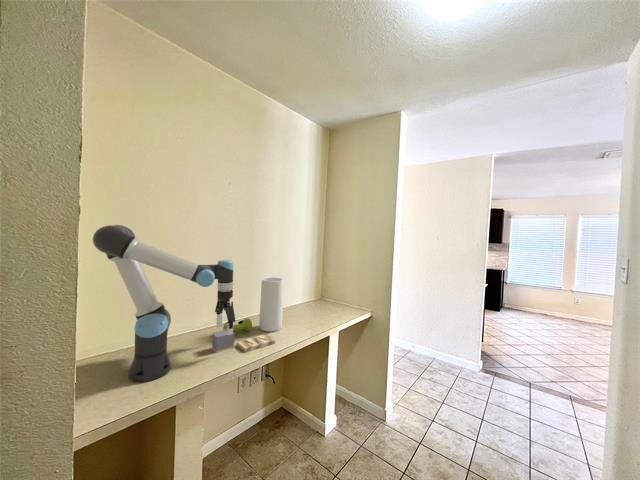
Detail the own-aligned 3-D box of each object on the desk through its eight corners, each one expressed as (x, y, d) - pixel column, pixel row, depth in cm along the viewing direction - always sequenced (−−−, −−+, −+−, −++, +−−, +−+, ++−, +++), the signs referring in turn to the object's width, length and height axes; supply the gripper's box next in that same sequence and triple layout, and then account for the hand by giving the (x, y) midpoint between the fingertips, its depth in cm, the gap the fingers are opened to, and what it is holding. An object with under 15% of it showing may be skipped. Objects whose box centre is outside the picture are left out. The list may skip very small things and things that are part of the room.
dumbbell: (227, 338, 150) (227, 326, 150) (221, 334, 156) (221, 322, 156) (253, 331, 162) (253, 320, 161) (246, 327, 167) (247, 316, 167)
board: (245, 352, 134) (245, 348, 134) (236, 345, 142) (236, 341, 142) (275, 343, 146) (275, 340, 146) (265, 337, 154) (266, 334, 154)
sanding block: (216, 353, 132) (217, 337, 132) (212, 348, 137) (212, 333, 136) (233, 348, 138) (234, 333, 138) (228, 344, 143) (229, 329, 143)
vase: (268, 334, 158) (271, 282, 157) (254, 327, 168) (256, 278, 167) (286, 328, 169) (288, 279, 168) (272, 322, 179) (274, 276, 177)
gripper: (243, 294, 130) (242, 336, 131) (222, 284, 148) (222, 321, 149) (228, 296, 125) (227, 340, 126) (209, 286, 143) (208, 324, 144)
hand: (224, 330), depth 137 cm, fingers open, 13 cm apart
